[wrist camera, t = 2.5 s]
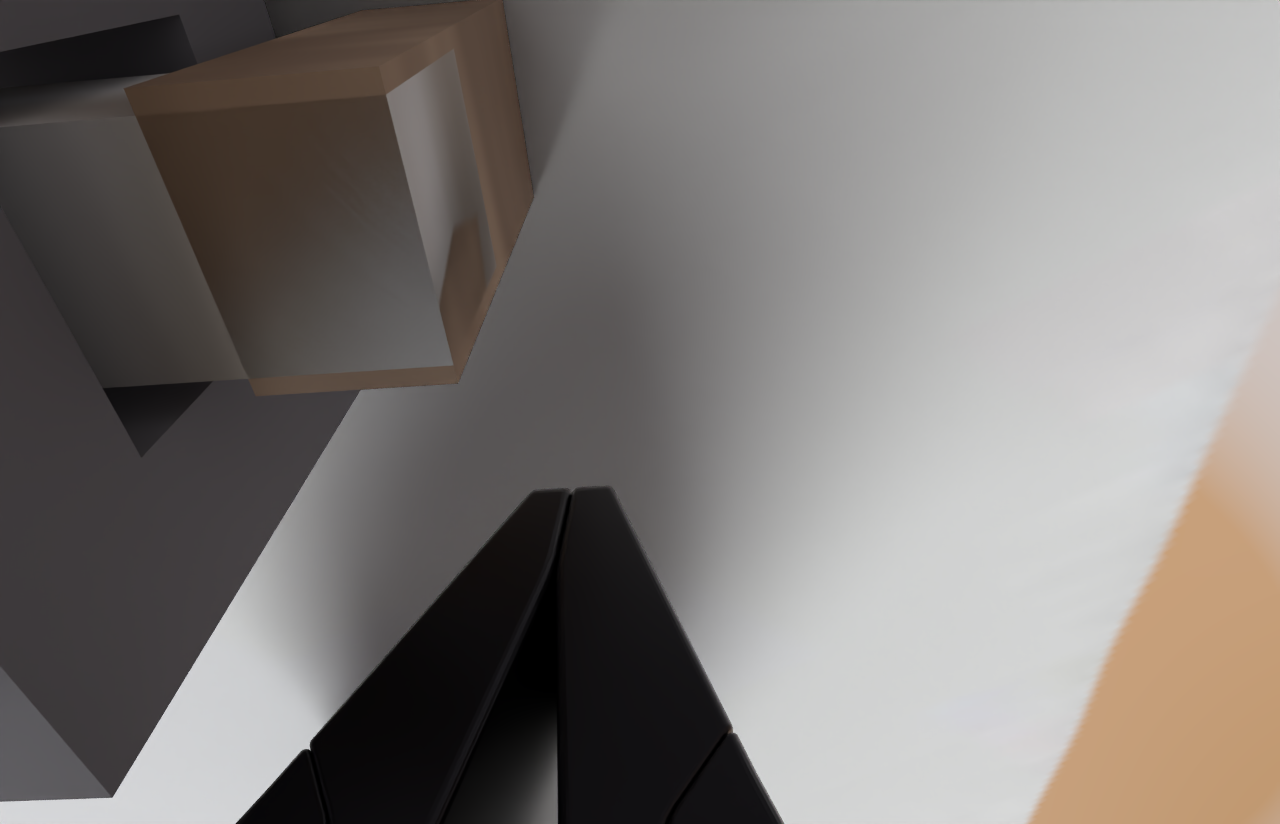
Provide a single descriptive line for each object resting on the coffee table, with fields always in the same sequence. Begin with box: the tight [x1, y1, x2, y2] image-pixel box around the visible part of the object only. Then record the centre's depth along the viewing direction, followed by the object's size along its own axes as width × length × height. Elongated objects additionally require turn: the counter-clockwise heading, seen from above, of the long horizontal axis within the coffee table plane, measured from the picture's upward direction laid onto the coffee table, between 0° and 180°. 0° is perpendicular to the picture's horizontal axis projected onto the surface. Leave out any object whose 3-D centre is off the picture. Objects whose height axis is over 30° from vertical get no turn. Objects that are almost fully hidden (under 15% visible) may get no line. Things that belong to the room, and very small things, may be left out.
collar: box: [0, 0, 360, 802], centre depth 8 cm, size 3×8×8 cm, turn 5°
